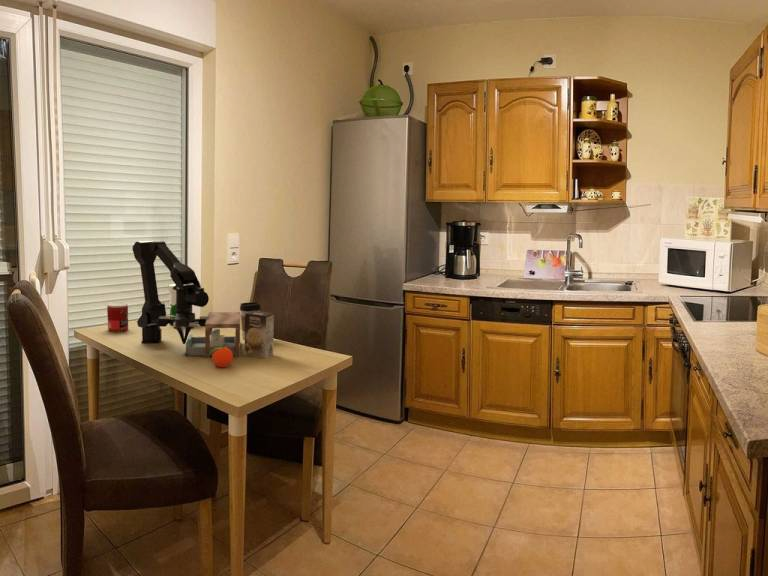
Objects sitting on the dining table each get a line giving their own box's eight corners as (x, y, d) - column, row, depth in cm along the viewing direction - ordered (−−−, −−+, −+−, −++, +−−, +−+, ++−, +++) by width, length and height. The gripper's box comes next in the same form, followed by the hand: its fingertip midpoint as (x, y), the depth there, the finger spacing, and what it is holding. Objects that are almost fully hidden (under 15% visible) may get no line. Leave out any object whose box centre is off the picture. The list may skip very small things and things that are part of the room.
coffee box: (243, 355, 214) (243, 313, 211) (252, 351, 220) (253, 310, 217) (265, 358, 211) (265, 315, 208) (274, 354, 217) (274, 312, 214)
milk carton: (194, 322, 262) (194, 279, 259) (184, 327, 253) (184, 282, 250) (176, 321, 263) (176, 278, 260) (166, 325, 255) (165, 280, 251)
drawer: (185, 355, 209) (185, 344, 208) (189, 344, 224) (189, 334, 224) (236, 354, 213) (236, 344, 213) (237, 343, 229) (237, 333, 228)
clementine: (210, 370, 194) (210, 350, 193) (207, 365, 200) (207, 345, 199) (234, 368, 197) (234, 348, 196) (231, 363, 203) (231, 343, 202)
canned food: (123, 332, 239) (122, 306, 238) (104, 331, 239) (103, 305, 238) (131, 328, 247) (131, 303, 245) (113, 327, 247) (112, 302, 245)
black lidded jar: (255, 342, 234) (255, 305, 231) (235, 340, 235) (236, 304, 233) (263, 337, 242) (264, 302, 239) (244, 335, 243) (245, 300, 241)
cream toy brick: (205, 349, 214) (205, 334, 213) (208, 343, 223) (208, 328, 222) (222, 349, 215) (222, 334, 214) (224, 343, 224) (224, 328, 223)
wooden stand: (205, 357, 208) (205, 324, 206) (208, 343, 229) (208, 312, 227) (239, 357, 211) (239, 323, 209) (239, 342, 231) (240, 312, 229)
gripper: (154, 306, 204) (154, 349, 206) (209, 307, 208) (208, 349, 211) (158, 301, 214) (158, 341, 217) (211, 301, 219) (210, 341, 221)
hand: (184, 343), depth 216 cm, fingers closed
